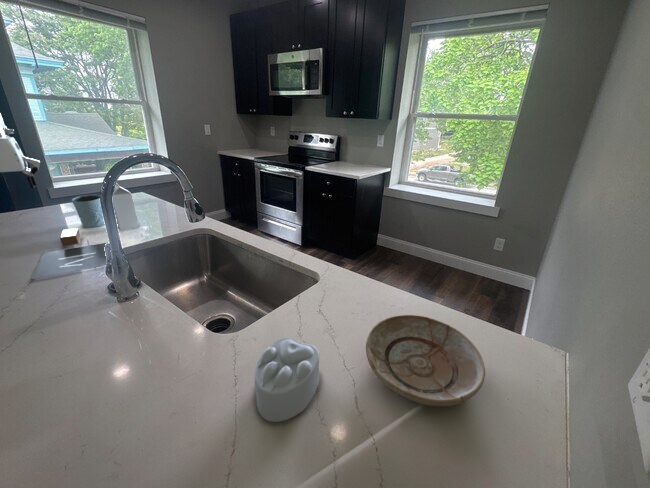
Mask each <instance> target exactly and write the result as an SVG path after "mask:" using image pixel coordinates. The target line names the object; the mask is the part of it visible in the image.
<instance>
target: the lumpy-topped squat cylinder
mask: <svg viewBox="0 0 650 488" xmlns="http://www.w3.org/2000/svg"><path fill="white" fill-rule="evenodd" d="M255 364H256V365H255V368H254V386H255V396H256V397H255V399H256V406H257V410H258V413H259V414H260V416H261V417H262V418H263V419H264V420H266V421H268V422H273V423H276V422H277V423H278V422H283V421H287V420H290V419H292V418H294V417H295V416H297V415H298V414H301V412H303V411H305V409H307V407H308V406H309V404H310V403H311V401H312V399H313V397H314V396H315V394H316V391H317V389H318V386H319V382H320V352H319V350H318V349H317V347H315V346H314V345H312V344H308V343H303V342H301V341H299V340H296V339H295V338H293V337H290V336H289V337H286V336H285V337H281V338H279V339H277V340H275V341H273V342H272V344H270V345H269V346H268V347H267V348H265V349H264V350H263V351H262V353H261V355H260V356H259V358H258V360H257V361H256V363H255Z"/></svg>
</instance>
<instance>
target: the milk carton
mask: <svg viewBox="0 0 650 488" xmlns="http://www.w3.org/2000/svg"><path fill="white" fill-rule="evenodd" d="M114 185H115V184H114ZM113 205H114V210H115V215H116V219H117V224H118V227H117V228H118V230H120V231H121V230H127V229H128V230H129V229H131V230H132V229H137V228H140V222H139V219H138V214H137V210H136V206H135V202H134V198H133V194H132V193H131V191H129V190H128V189H126V188H124V187H123V186H120V184H119V183H118V182H116V185H115V188H114V192H113Z"/></svg>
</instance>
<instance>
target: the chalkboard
mask: <svg viewBox="0 0 650 488" xmlns="http://www.w3.org/2000/svg"><path fill="white" fill-rule="evenodd" d="M106 243H107V242H102V243H95V244H91V245H85V246H79V247H72V248H67V249H60V250H53V251H47V252H43V254H42V255H41V256H40V257H41V258H40V259H39V262H38V264H37V265H36V268H35V270H34V272H33V273H32V276H31V278H30V281H33V280H39V279H44V278H48V277H49V278H50V277H54V276H59V275H64V274H69V273H74V272H80V271H85V270H90V269H94V268H95V269H96V268H101V267H106V266H107V265H106V256H105V251H104V247H105V244H106ZM105 265H106V266H105Z"/></svg>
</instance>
